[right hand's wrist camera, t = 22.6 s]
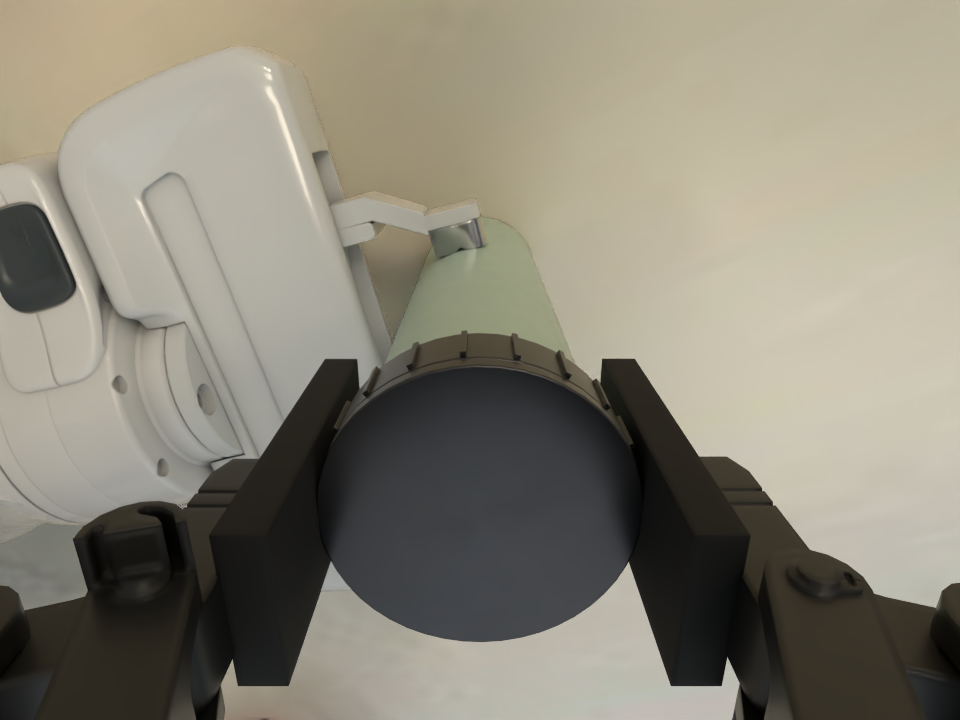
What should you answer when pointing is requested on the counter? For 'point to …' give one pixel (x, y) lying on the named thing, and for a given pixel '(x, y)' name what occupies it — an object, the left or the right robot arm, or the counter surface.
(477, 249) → the pale green bottle
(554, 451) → the lid
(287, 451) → the right robot arm
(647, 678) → the counter surface
